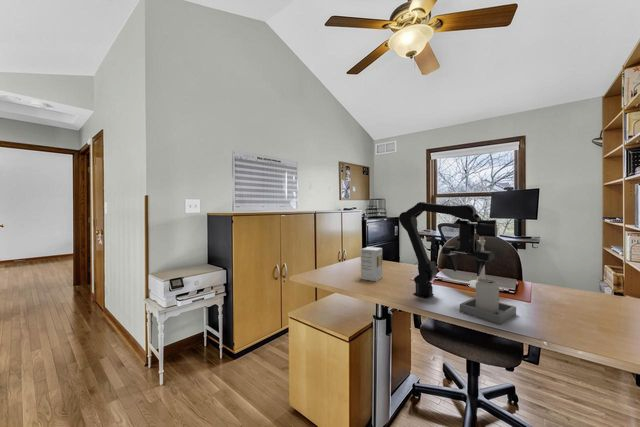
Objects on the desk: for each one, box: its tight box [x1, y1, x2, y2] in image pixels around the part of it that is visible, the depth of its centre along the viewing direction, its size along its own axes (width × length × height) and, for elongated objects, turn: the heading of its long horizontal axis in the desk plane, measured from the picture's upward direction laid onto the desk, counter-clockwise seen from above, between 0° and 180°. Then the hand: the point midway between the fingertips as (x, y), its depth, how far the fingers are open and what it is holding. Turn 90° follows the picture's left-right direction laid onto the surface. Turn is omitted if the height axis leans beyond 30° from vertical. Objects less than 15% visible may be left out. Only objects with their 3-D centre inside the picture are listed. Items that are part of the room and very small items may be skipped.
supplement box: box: [360, 246, 383, 282], centre depth 150 cm, size 10×9×17 cm
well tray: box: [459, 296, 517, 326], centre depth 103 cm, size 14×14×3 cm
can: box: [475, 278, 500, 314], centre depth 102 cm, size 8×8×12 cm
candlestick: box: [467, 236, 486, 290], centre depth 133 cm, size 13×13×30 cm
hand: (466, 273), depth 110 cm, fingers open, 9 cm apart
